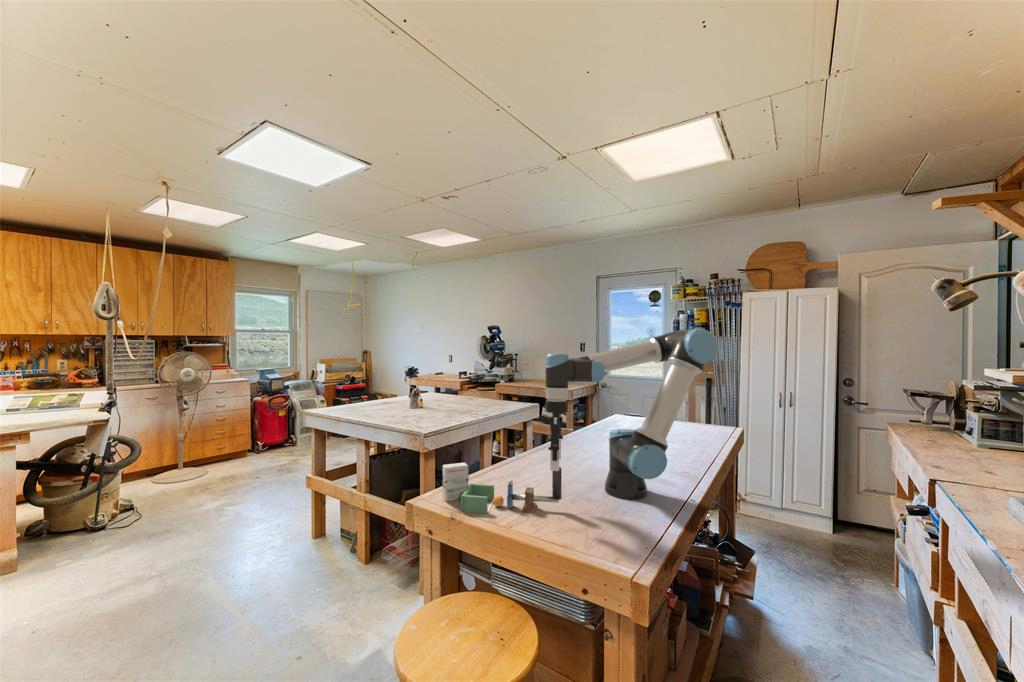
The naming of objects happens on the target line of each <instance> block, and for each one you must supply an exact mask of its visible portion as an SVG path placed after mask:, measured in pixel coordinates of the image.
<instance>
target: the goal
mask: <svg viewBox="0 0 1024 682" xmlns="http://www.w3.org/2000/svg"><path fill="white" fill-rule="evenodd" d="M494 497H495V484H487V483H486V484H485V483H484V484H483V483H469V484H468V488H467V489H466V490H465V492H464V493H463V494H462V496H461V499H460V511H461V512H462V511H463V512H464V513H465V512H466V513H477V514H478V513H479V514H488V513H489V511H490V509H491V507H492V506H493V505H494V503H493V499H494ZM488 501H491V502H490V504H489V506H488Z"/></svg>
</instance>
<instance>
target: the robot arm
mask: <svg viewBox="0 0 1024 682" xmlns="http://www.w3.org/2000/svg"><path fill="white" fill-rule="evenodd" d="M718 354H719V343H718V341H717V337H715V335H714V334H713V333H712V332H710V331H709V330H707V329H703V328H691V329H679V330H673V331H670V332H668V333H665V334H661V335H658V336H654V337H650V338H649V339H648V340H647V341H645V342H640V343H636V344H635V343H634V344H632V345H627V346H623V347H619V348H615V349H610V350H605V351H602V352H597V353H593V354H588V355H586V356H585V355H584V356H581V357H571V358H569V354H568V353H548V354H547V355H546V357H545V367H544V368H545V389H543V393H545V399H546V400H545V401H544V403H545V404H544V406H545V407H544V408H545V412H546V413H549V414H550V413H551V414H552V416H550V419H549V422H550V423H549V424H550V426H549V427H550V446H548V451H550V459H549V460H550V466H549V468H550V470H549V471H559V467H560V459H562V440H563V439H564V436H563V435H562V426H563V416H562V414H565V413H568V411H569V402H568V399H569V383H592V384H594V383H601V382H602V381H603V380H604V378H605V373H608V372H611V371H615V370H620V369H625V368H629V367H634V366H638V365H644V364H647V363H650V362H654V363H656V364H657V363H661V362H663V363H664V362H668V363H669V366H668V368H667V371H666V373H665V374H664V377H663V380H662V382H661V383H660V386H659V388H658V390H657V393H656V395H655V397H654V399H653V401H652V404H651V405H650V407H649V410H648V412H647V414H646V417H645V419H644V420H643V422H642V425H641V426H640V427H638V428H635V429H625V428H624V429H623V428H622V429H621V428H620V429H618V428H617V429H613V430H612V429H611V431H610V432H609V437H608V443H609V445H608V446H609V447H608V448H609V449H608V450H609V455H608V456H609V471H608V473H607V477H606V480H605V483H604V491H605V492H606V494H608V495H610V496H612V497H615V498H619V499H627V500H636V499H637V500H638V499H643V498H645V497H646V496H647V495H648V487H647V483H646V480H652V479H655V478H658V477H659V476H661V475H662V474H663V473H664V472H665V470H666V468H667V465H668V458H667V454H666V451H667V450H668V446H669V444H668V441H667V437H668V435H669V433H670V431H671V428H672V426H673V425H674V422H675V420H676V418H677V415H678V414H679V411H680V410H681V407H682V404H683V402H684V400H685V398H686V396H687V394H688V391H689V389H690V387H691V385H692V383H693V380H694V378H695V377H696V376H697V375H699V374H702V373H703V371H704V368H705V366H706V364H709V363H711V362H713V361H714V360H715V359H716V358H717V356H718Z"/></svg>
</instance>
